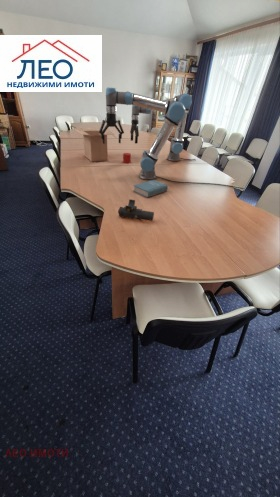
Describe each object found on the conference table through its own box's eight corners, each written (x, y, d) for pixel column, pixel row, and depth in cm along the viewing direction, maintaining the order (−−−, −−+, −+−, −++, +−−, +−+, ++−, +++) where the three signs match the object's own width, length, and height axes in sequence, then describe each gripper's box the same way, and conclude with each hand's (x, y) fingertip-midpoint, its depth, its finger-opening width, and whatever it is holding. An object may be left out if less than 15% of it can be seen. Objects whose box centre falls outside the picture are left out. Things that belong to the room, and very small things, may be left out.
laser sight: (151, 224, 136) (153, 209, 130) (116, 219, 138) (116, 204, 132) (153, 217, 143) (155, 203, 137) (120, 212, 146) (120, 198, 140)
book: (152, 185, 190) (153, 179, 187) (167, 191, 181) (167, 185, 178) (133, 191, 176) (133, 185, 173) (147, 198, 167) (148, 191, 164)
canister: (123, 160, 245) (123, 152, 240) (130, 161, 246) (130, 153, 241) (123, 163, 238) (123, 154, 233) (130, 163, 239) (131, 155, 234)
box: (118, 161, 240) (118, 134, 224) (86, 164, 225) (83, 135, 209) (104, 152, 270) (103, 127, 254) (74, 153, 255) (72, 127, 239)
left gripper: (124, 112, 174) (124, 141, 187) (93, 111, 165) (95, 142, 177) (128, 113, 169) (127, 143, 181) (96, 113, 159) (98, 144, 172)
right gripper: (127, 117, 235) (127, 139, 247) (136, 121, 217) (134, 144, 229) (134, 117, 237) (133, 139, 250) (143, 121, 219) (141, 144, 232)
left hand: (111, 143), depth 179 cm, fingers open, 13 cm apart
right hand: (133, 142), depth 240 cm, fingers open, 13 cm apart
